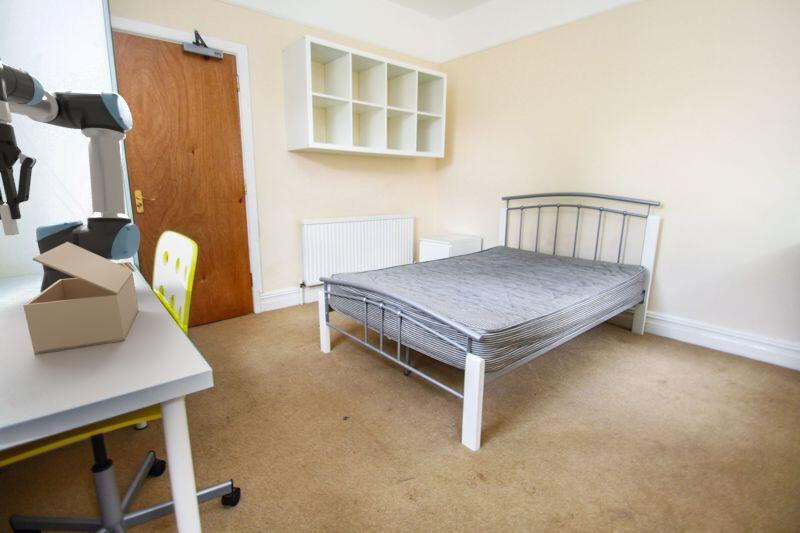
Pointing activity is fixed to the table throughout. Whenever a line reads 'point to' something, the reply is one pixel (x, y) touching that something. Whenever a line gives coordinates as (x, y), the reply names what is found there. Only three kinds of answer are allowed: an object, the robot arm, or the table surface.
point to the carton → (80, 315)
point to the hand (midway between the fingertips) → (12, 234)
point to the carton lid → (86, 266)
